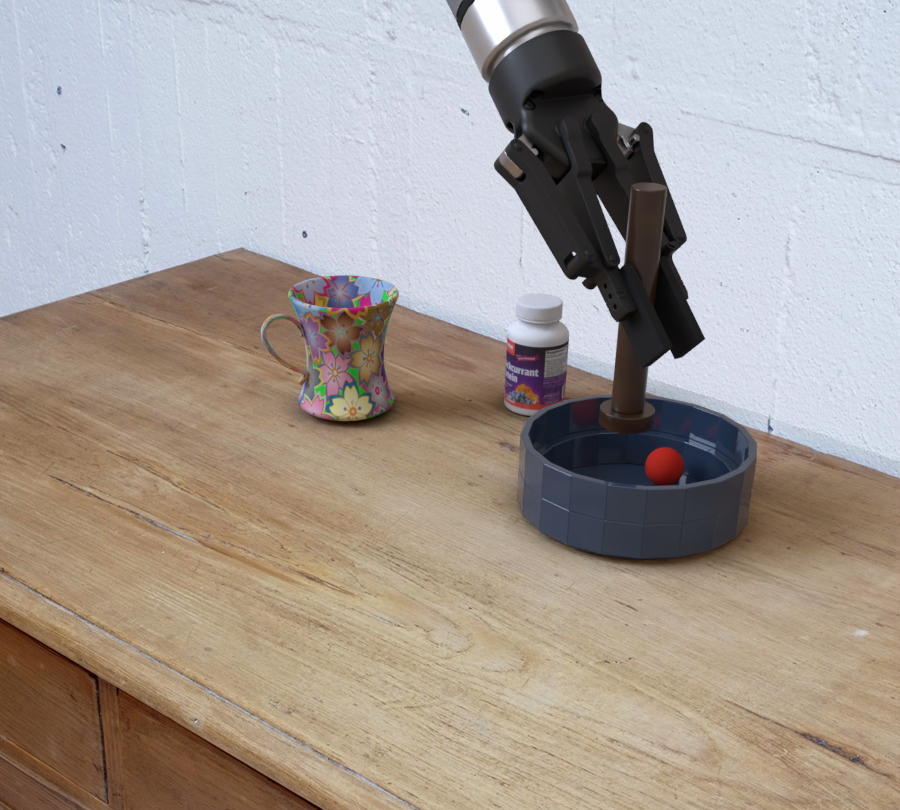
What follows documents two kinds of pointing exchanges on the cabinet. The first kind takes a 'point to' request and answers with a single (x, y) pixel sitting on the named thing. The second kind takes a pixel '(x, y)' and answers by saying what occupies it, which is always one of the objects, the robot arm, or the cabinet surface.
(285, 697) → the cabinet surface
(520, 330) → the pill bottle
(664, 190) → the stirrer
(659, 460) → the red ball
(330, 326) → the mug
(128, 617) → the cabinet surface
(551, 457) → the bowl
